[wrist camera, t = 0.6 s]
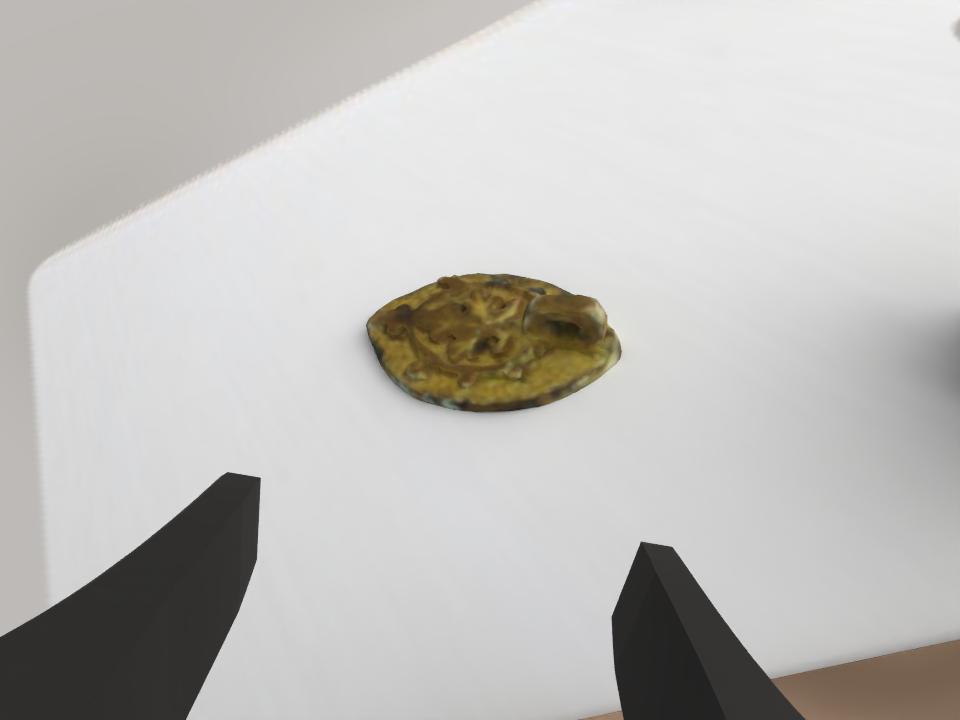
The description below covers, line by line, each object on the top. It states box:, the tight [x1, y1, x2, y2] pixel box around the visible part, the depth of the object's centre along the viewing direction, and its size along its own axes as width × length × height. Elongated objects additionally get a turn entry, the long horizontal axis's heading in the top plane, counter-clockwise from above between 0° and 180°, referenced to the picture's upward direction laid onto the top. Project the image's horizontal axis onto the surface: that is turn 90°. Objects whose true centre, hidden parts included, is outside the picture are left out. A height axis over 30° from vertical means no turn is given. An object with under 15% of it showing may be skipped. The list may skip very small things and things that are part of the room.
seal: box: [366, 273, 622, 412], centre depth 39 cm, size 9×5×15 cm
